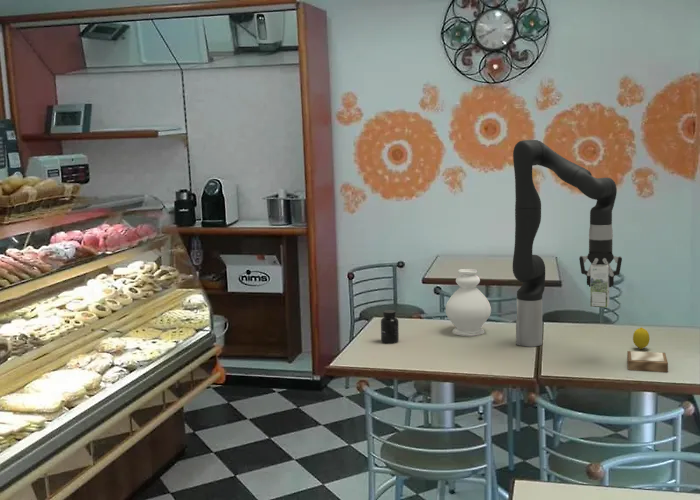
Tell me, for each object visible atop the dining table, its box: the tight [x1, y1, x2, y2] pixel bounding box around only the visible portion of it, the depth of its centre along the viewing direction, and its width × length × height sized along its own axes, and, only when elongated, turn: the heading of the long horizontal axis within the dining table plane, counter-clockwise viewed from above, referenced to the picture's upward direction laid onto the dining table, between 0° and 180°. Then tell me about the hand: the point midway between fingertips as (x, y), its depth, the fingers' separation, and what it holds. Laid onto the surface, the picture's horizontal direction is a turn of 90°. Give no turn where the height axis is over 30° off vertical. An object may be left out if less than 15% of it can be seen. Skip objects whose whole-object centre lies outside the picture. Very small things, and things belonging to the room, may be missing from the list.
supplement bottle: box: [380, 309, 400, 345], centre depth 297 cm, size 7×7×12 cm
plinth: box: [626, 350, 669, 373], centre depth 257 cm, size 12×12×3 cm
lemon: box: [632, 327, 650, 350], centre depth 275 cm, size 6×6×8 cm
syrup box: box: [589, 263, 610, 308], centre depth 261 cm, size 6×6×14 cm
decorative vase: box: [445, 268, 492, 337], centre depth 306 cm, size 18×18×25 cm
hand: (600, 286), depth 261 cm, fingers closed on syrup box, 6 cm apart
